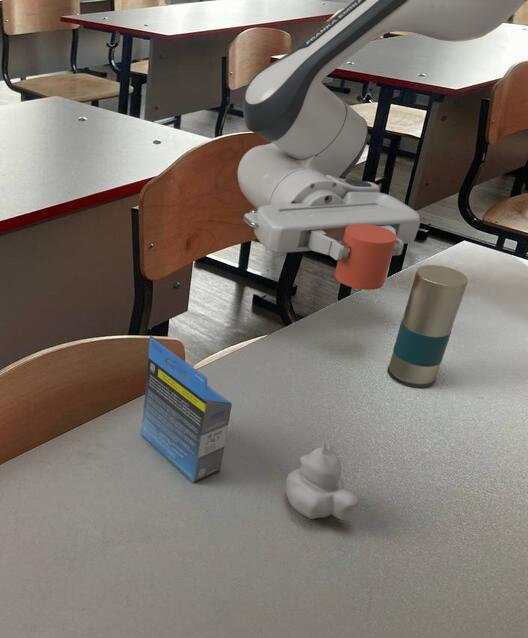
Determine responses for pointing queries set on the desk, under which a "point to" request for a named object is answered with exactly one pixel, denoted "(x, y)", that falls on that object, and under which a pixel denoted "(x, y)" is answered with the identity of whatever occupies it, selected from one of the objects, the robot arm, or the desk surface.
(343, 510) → the grey animal figurine
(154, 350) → the tape cartridge
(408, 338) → the spray can
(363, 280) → the cap
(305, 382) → the desk surface
